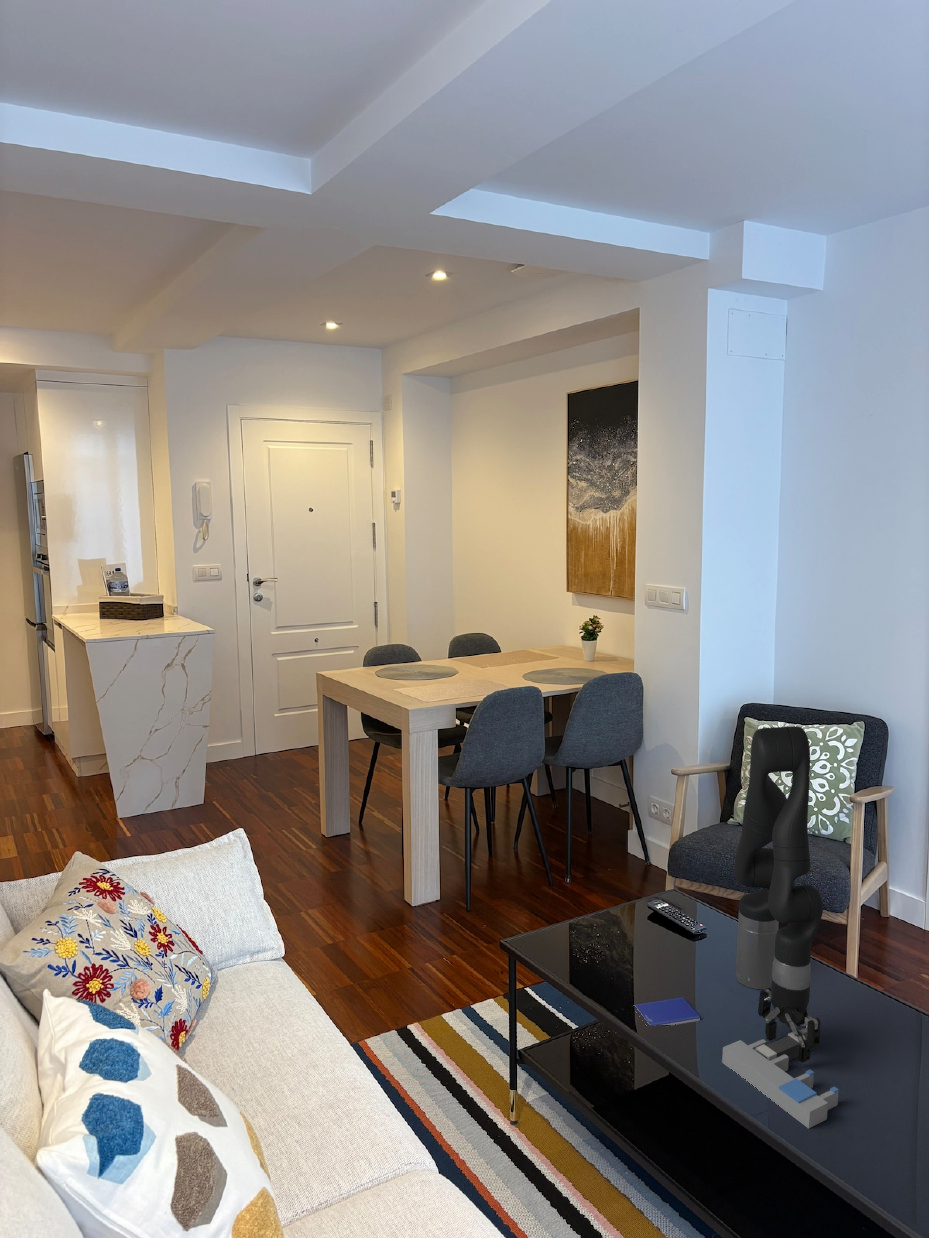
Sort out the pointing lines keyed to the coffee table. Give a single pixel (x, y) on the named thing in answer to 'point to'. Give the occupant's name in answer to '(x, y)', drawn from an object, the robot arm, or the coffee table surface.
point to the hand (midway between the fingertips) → (786, 1049)
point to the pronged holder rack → (780, 1082)
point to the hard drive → (668, 1012)
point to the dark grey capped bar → (781, 1048)
